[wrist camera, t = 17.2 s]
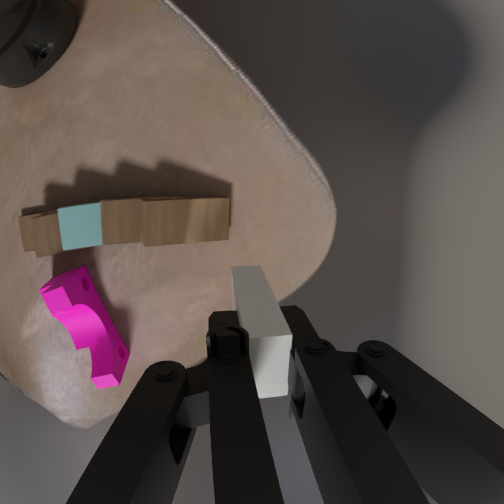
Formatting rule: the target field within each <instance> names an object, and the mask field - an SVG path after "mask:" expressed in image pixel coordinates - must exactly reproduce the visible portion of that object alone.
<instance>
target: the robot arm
mask: <svg viewBox="0 0 504 504" xmlns="http://www.w3.org/2000/svg"><path fill="white" fill-rule="evenodd" d="M75 22H76V14H75V9H74V7H73V5H72V4H71V3H70V1H69V0H0V85H2V86H6V87H10V88H18V87H22V86H25V85H28V84H30V83H32V82H33V81H35V80H37V79H38V78H39V77H41V76H42V75H43V74H44V73H46V72H47V71H48V70H49V69H50V68H51V67H52V66H53V65H54V64H55V62H56V61H57V60H58V59H59V57H60V56H61V55H62V53H63V52H64V50H65V48H66V47H67V45H68V43H69V41H70V39H71V37H72V34H73V31H74V27H75ZM231 284H232V311H216V312H213V313H212V314H211V315H210V317H209V331H208V332H207V335H206V344H207V354H208V357H207V359H206V360H205V361H204V362H203V363H201V364H199V365H197V366H194V367H191V368H187V369H185V367H184V366H183V365H181V364H180V363H178V362H174V361H160V362H156V363H154V364H152V365H150V366H149V367H148V368H147V369H146V370H145V372H144V374H143V375H142V377H141V378H140V380H139V382H138V383H137V385H136V386H135V388H134V390H133V391H132V393H131V394H130V396H129V398H128V399H127V401H126V403H125V404H124V406H123V407H122V409H121V411H120V412H119V414H118V416H117V417H116V419H115V421H114V422H113V424H112V425H111V427H110V429H109V431H108V432H107V434H106V436H105V437H104V439H103V440H102V442H101V444H100V445H99V447H98V449H97V451H96V452H95V454H94V456H93V457H92V459H91V461H90V462H89V464H88V466H87V468H86V469H85V471H84V473H83V474H82V476H81V478H80V480H79V481H78V483H77V485H76V487H75V488H74V490H73V492H72V494H71V496H70V497H69V499H68V501H67V502H66V504H172V501H173V498H174V495H175V492H176V489H177V486H178V483H179V480H180V477H181V474H182V472H183V469H184V466H185V463H186V460H187V457H188V454H189V451H190V448H191V445H192V442H193V439H194V436H195V432H196V427H198V426H201V425H204V424H208V423H210V434H211V452H212V467H213V482H214V494H215V504H284V501H283V497H282V493H281V489H280V485H279V481H278V477H277V474H276V469H275V465H274V461H273V457H272V453H271V449H270V445H269V440H268V436H267V432H266V427H265V423H264V419H263V414H262V410H261V406H260V402H259V398H267V397H276V396H283V395H287V393H288V385H289V388H290V391H291V400H290V409H289V418H292V414H293V413H294V416H295V419H296V422H297V425H298V428H299V431H300V434H301V437H302V440H303V443H304V446H305V449H306V452H307V455H308V458H309V461H310V464H311V467H312V470H313V473H314V475H315V478H316V481H317V484H318V487H319V490H320V493H321V496H322V499H323V502H324V504H429V502H428V500H427V498H426V497H425V495H424V493H423V492H422V490H421V488H420V487H419V485H420V486H421V487H422V488H423V489H424V490H425V491H426V492H427V493H428V494H429V495H430V496H431V497H432V498H433V499H434V500H435V501H436V502H437V503H438V504H504V429H503V428H502V427H500V426H499V425H497V424H496V423H495V422H493V421H492V420H491V419H489V418H488V417H487V416H485V415H484V414H483V413H481V412H480V411H479V410H477V409H476V408H475V407H473V406H472V405H470V404H469V403H468V402H466V401H465V400H464V399H462V398H461V397H459V396H458V395H457V394H456V393H454V392H453V391H451V390H450V389H449V388H447V387H446V386H445V385H443V384H442V383H441V382H439V381H438V380H436V379H435V378H434V377H432V376H431V375H429V374H428V373H427V372H426V371H424V370H422V369H421V368H420V367H419V366H417V365H416V364H414V363H413V362H412V361H410V360H409V359H408V358H406V357H405V356H404V355H402V354H401V353H399V352H398V351H397V350H395V349H394V348H393V347H391V346H390V345H388V344H386V343H384V342H381V341H376V340H370V341H365V342H363V343H361V344H360V345H359V346H358V348H357V352H343V351H337V350H336V349H335V347H334V346H333V345H332V344H331V343H330V342H329V341H326V340H324V339H320V338H319V336H318V334H317V333H316V331H315V329H314V328H313V326H312V325H311V323H310V321H309V319H308V318H307V316H306V314H305V313H304V311H303V310H302V309H300V308H299V307H297V306H295V305H293V306H281V307H279V305H278V303H277V300H276V298H275V296H274V294H273V292H272V290H271V287H270V285H269V283H268V281H267V279H266V277H265V274H264V272H263V270H262V268H261V266H260V265H257V266H236V267H231ZM383 390H384V391H385V392H386V393H387V394H388V395H389V396H388V398H386V397H384V396H383V395H382V392H383ZM418 484H419V485H418Z"/></svg>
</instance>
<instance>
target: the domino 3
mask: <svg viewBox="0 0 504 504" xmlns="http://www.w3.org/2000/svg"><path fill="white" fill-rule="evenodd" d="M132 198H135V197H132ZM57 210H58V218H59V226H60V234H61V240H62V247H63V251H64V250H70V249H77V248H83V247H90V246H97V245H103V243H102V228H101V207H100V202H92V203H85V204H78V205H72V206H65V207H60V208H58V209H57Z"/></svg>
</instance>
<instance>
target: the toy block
mask: <svg viewBox="0 0 504 504" xmlns="http://www.w3.org/2000/svg"><path fill="white" fill-rule="evenodd" d="M39 291H40V293H41V295H42V297H43V299H44V301H45V303H46V305H47V307H48V309H49V311H50V312H51V314H52V316H53V317H55V318H57V319H58V320H59V321H60V322H61V323H62V324H63V325H64V326H65V327H66V329H67V330H68V332H69V333H70V335H71V337H72V339H73V341H74V344H75V347H76V350H78V349H82V348H86V347H89V348H90V352H91V357H92V374H91V380H92V381H93V382H94V384H95V385H96V387H97V388H98V389H100V388H106V387H111V386H117V385H120V382H121V379H122V376H123V373H124V370H125V367H126V364H127V361H128V359H129V356H130V353H129V351H128V350H127V348H126V346H125V344H124V343H123V341H122V339H121V337H120V336H119V334H118V332H117V330H116V328H115V326H114V325H113V323H112V321H111V319H110V317H109V315H108V313H107V311H106V309H105V307H104V305H103V303H102V301H101V299H100V297H99V295H98V293H97V291H96V289H95V287H94V285H93V282H92V280H91V278H90V276H89V274H88V271H87V269H86V267H85V265H84V266H81V267H79V268H76V269H74V270H71V271H68V272H66V273H63V274H61V275H58V276H56V277H53V278H52V279H51V280H49V281H48V282H47V283H46V284H45V285H44V286H43V287H42V288H40V289H39Z"/></svg>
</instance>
